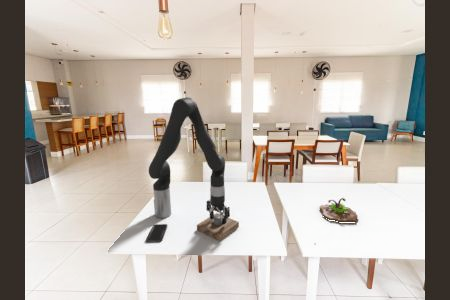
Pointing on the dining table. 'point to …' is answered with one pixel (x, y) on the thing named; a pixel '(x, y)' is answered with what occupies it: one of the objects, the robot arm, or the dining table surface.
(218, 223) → the connector plug
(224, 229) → the end holder
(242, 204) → the dining table surface
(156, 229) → the phone
